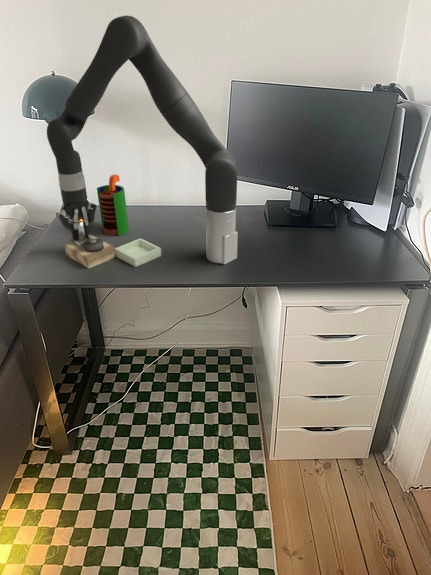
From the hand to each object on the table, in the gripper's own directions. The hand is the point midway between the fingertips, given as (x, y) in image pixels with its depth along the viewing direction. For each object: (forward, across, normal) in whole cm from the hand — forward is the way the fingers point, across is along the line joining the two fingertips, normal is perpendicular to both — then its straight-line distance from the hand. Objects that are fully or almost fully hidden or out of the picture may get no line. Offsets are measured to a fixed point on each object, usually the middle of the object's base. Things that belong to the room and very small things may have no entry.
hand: (81, 237), depth 147 cm
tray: (+6, +11, -15) cm, 19 cm away
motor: (+6, +18, +7) cm, 20 cm away
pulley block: (+6, 0, -4) cm, 7 cm away
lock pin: (+2, 0, 0) cm, 2 cm away
